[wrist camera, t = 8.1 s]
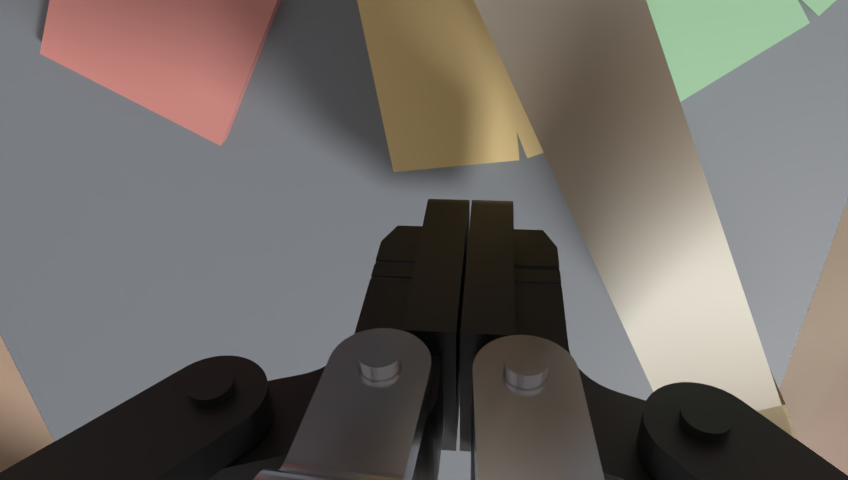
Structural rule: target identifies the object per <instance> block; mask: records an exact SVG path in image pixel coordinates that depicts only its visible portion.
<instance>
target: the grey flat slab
mask: <svg viewBox="0 0 848 480" xmlns="http://www.w3.org/2000/svg"><path fill="white" fill-rule="evenodd" d="M646 1H647V4H648V7H649V10H650V13H651V16H652V19H653V22H654V25H655V28H656V31H657V34H658V37H659V40H660V43H661V46H662V49H663V52H664V55H665V58H666V61H667V64H668V67H669V70H670V73H671V76H672V79H673V82H674V85H675V88H676V91H677V94H678V97H679V100H680V103H681V106H682V109H683V112H684V115H685V118H686V121H687V124H688V127H689V130H690V133H691V136H692V139H693V142H694V145H695V148H696V150H697V153H698V156H699V159H700V162H701V165H702V168H703V171H704V174H705V177H706V180H707V183H708V186H709V189H710V192H711V195H712V198H713V201H714V204H715V207H716V210H717V213H718V216H719V219H720V222H721V225H722V228H723V231H724V234H725V237H726V240H727V243H728V246H729V249H730V252H731V255H732V258H733V261H734V264H735V267H736V270H737V273H738V276H739V279H740V282H741V285H742V288H743V291H744V294H745V297H746V300H747V303H748V306H749V309H750V312H751V315H752V318H753V320H754V323H755V326H756V329H757V332H758V335H759V338H760V341H761V344H762V347H763V350H764V353H765V356H766V359H767V362H768V365H769V368H770V370H771V372H772V375H773V377H774V379H775V381H776V384H777V386H778V388H780V386H781V383H782V380H783V377H784V374H785V372H786V369H787V366H788V363H789V361H790V358H791V355H792V352H793V350H794V347H795V344H796V341H797V338H798V336H799V333H800V330H801V327H802V325H803V322H804V319H805V316H806V314H807V311H808V308H809V305H810V302H811V300H812V297H813V294H814V291H815V289H816V286H817V283H818V280H819V278H820V275H821V272H822V269H823V266H824V264H825V261H826V258H827V255H828V253H829V250H830V247H831V244H832V242H833V239H834V236H835V233H836V230H837V228H838V225H839V222H840V219H841V217H842V214H843V211H844V208H845V206H846V203H847V200H848V0H646ZM428 199H455V200H469V201H470V216H471V205H472V200H494V201H513V210H514V229H524V230H543V231H544V232H545V233H546V234H547V236H548V237H549V238H550V239H551V240H552V242H553V243H554V244H555V245H556V246H557V249H558V258H559V266H560V267H559V271H560V275H561V287H562V293H563V302H564V310H565V319H566V328H567V337H568V346H569V351H570V354H571V356H572V357H573V358H574V360H575V362H576V363H577V366H578V368H579V369H580V370H581V371H582V372H583V373H584V374H585V375H587V376H588V377H589V378H590V379H592V380H593V381H595V382H596V383H598V384H600V385H602V386H604V387H606V388H608V389H611V390H613V391H616V392H619V393H622V394H626V395H629V396H632V397H636V398H639V399H642V400H647V398H648V397H649V396H650V395H651V394H652V393H653V390H652V388H651V385H650V383H649V381H648V379H647V377H646V374H645V372H644V370H643V368H642V366H641V364H640V361H639V359H638V357H637V355H636V353H635V350H634V348H633V346H632V344H631V342H630V340H629V337H628V335H627V333H626V331H625V329H624V326H623V324H622V322H621V320H620V318H619V316H618V313H617V311H616V309H615V307H614V305H613V302H612V300H611V298H610V296H609V294H608V292H607V289H606V287H605V285H604V283H603V281H602V278H601V276H600V274H599V272H598V270H597V268H596V265H595V263H594V261H593V259H592V257H591V254H590V252H589V250H588V248H587V246H586V244H585V241H584V239H583V237H582V235H581V233H580V230H579V228H578V226H577V224H576V222H575V220H574V217H573V215H572V213H571V211H570V209H569V207H568V204H567V202H566V200H565V198H564V196H563V193H562V191H561V189H560V187H559V185H558V183H557V180H556V178H555V176H554V174H553V172H552V169H551V167H550V165H549V163H548V161H547V159H546V156H545V154H544V152H543V150H542V148H541V145H540V143H539V141H538V139H537V137H536V135H535V132H534V130H533V128H532V126H531V124H530V121H529V119H528V117H527V115H526V113H525V111H524V108H523V106H522V104H521V102H520V100H519V97H518V95H517V93H516V91H515V89H514V87H513V84H512V82H511V80H510V78H509V76H508V73H507V71H506V69H505V67H504V65H503V63H502V60H501V58H500V56H499V54H498V52H497V49H496V47H495V45H494V43H493V41H492V39H491V36H490V34H489V32H488V30H487V28H486V25H485V23H484V21H483V19H482V17H481V15H480V12H479V10H478V8H477V6H476V4H475V1H474V0H0V335H1V337H2V339H3V341H4V343H5V345H6V347H7V349H8V351H9V353H10V355H11V357H12V359H13V361H14V363H15V365H16V367H17V369H18V371H19V373H20V375H21V377H22V379H23V381H24V383H25V385H26V387H27V389H28V391H29V393H30V395H31V397H32V399H33V401H34V403H35V405H36V407H37V409H38V410H39V412H40V414H41V416H42V418H43V420H44V422H45V424H46V426H47V428H48V430H49V432H50V434H51V436H52V438H53V440H54V442H55V441H57V440H58V439H60V438H62V437H64V436H65V435H67V434H69V433H71V432H72V431H74V430H76V429H78V428H79V427H81V426H83V425H85V424H86V423H88V422H90V421H92V420H93V419H95V418H97V417H99V416H100V415H102V414H104V413H106V412H107V411H109V410H111V409H113V408H114V407H116V406H118V405H120V404H121V403H123V402H125V401H127V400H128V399H130V398H132V397H134V396H135V395H137V394H139V393H141V392H142V391H144V390H146V389H148V388H149V387H151V386H153V385H155V384H156V383H158V382H160V381H162V380H163V379H165V378H167V377H169V376H170V375H172V374H174V373H176V372H177V371H179V370H181V369H183V368H184V367H186V366H188V365H190V364H192V363H194V362H197V361H200V360H202V359H206V358H210V357H215V356H228V355H230V356H239V357H243V358H247V359H249V360H252V361H253V362H255V363H256V364H258V365H259V366H260V367H261V368H262V369H263V371H264V372H265V374H266V377H267V381H270V380H275V379H280V378H285V377H291V376H296V375H301V374H305V373H309V372H312V371H315V370H318V369H320V368H322V367H324V366H326V364H327V362H328V360H329V357H330V355H331V354H332V352H333V350H334V349H335V348H336V347H337V346H338V345H339V344H340V343H341V342H342V341H343V340H345V339H346V338H348V337H350V336H352V335H354V333H355V330H356V326H357V323H358V319H359V316H360V312H361V309H362V306H363V302H364V299H365V295H366V292H367V288H368V285H369V281H370V279H371V274H372V271H373V268H374V264H376V257H377V254H378V250H379V247H380V243H381V241H382V240H383V239H384V238H385V237H386V236H387V235H388V234H389V233H390V232H391V231H392V230H393V229H394V228H395V227H397V226H423V221H424V216H425V211H426V207H427V202H428ZM470 474H471V452H468V451H460V407H459V420H458V432H457V445H456V451H450V450H441V456H440V466H439V474H438V479H437V480H470V479H471V475H470Z"/></svg>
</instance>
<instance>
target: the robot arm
mask: <svg viewBox="0 0 848 480" xmlns="http://www.w3.org/2000/svg"><path fill="white" fill-rule="evenodd" d="M559 267H560V266H559V258H558V249H557V246H556V245H555V244H554V243H553V242H552V240H551V239H550V238H549V237H548V236H547V234H546V233H545V232H544V231H543V230H524V229H514V210H513V201H494V200H472V205H471V216H470V201H469V200H455V199H428V202H427V207H426V211H425V216H424V221H423V226H397V227H395V228H394V229H393V230H392V231H391V232H390V233H389V234H388V235H387V236H386V237H385V238H384V239H383V240H382V241H381V243H380V247H379V250H378V254H377V257H376V264H374V268H373V271H372V274H371V279H370V281H369V285H368V288H367V292H366V295H365V299H364V302H363V306H362V309H361V312H360V316H359V319H358V323H357V326H356V330H355V333H354V335H352V336H350V337H348V338H346V339H345V340H343V341H342V342H341V343H340V344H339V345H338V346H337V347H336V348H335V349H334V350H333V352H332V354H331V355H330V357H329V360H328V362H327V364H326V366H324V367H322V368H320V369H318V370H315V371H312V372H309V373H305V374H301V375H296V376H291V377H285V378H280V379H275V380H270V381H267V377H266V374H265V372H264V371H263V369H262V368H261V367H260V366H259V365H258V364H256V363H255V362H253V361H252V360H249V359H247V358H243V357H239V356H230V355H228V356H215V357H210V358H206V359H202V360H200V361H197V362H194V363H192V364H190V365H188V366H186V367H184V368H183V369H181V370H179V371H177V372H176V373H174V374H172V375H170V376H169V377H167V378H165V379H163V380H162V381H160V382H158V383H156V384H155V385H153V386H151V387H149V388H148V389H146V390H144V391H142V392H141V393H139V394H137V395H135V396H134V397H132V398H130V399H128V400H127V401H125V402H123V403H121V404H120V405H118V406H116V407H114V408H113V409H111V410H109V411H107V412H106V413H104V414H102V415H100V416H99V417H97V418H95V419H93V420H92V421H90V422H88V423H86V424H85V425H83V426H81V427H79V428H78V429H76V430H74V431H72V432H71V433H69V434H67V435H65V436H64V437H62V438H60V439H58V440H57V441H55V442H53V443H51V444H50V445H48V446H46V447H44V448H43V449H41V450H39V451H37V452H36V453H34V454H32V455H30V456H29V457H27V458H25V459H23V460H22V461H20V462H18V463H16V464H15V465H13V466H11V467H9V468H8V469H6V470H4V471H2V472H1V473H0V480H437V479H438V474H439V466H440V456H441V450H450V451H456V445H457V432H458V420H459V407H460V451H468V452H471V474H470V475H471V479H470V480H848V476H847V475H846V474H844V473H843V472H842V471H840V470H839V469H837V468H836V467H835V466H833V465H832V464H830V463H829V462H827V461H826V460H825V459H823V458H822V457H820V456H819V455H818V454H816V453H815V452H813V451H812V450H811V449H809V448H808V447H806V446H805V445H804V444H802V443H801V442H799V441H798V440H797V439H795V438H794V437H792V436H791V435H790V434H788V433H787V432H785V431H784V430H783V429H781V428H780V427H778V426H777V425H776V424H774V423H773V422H771V421H770V420H769V419H767V418H766V417H764V416H763V415H761V414H760V413H759V412H757V411H756V410H754V409H753V408H752V407H750V406H749V405H747V404H746V403H745V402H743V401H742V400H740V399H739V398H737V397H736V396H734V395H732V394H730V393H728V392H726V391H724V390H722V389H719V388H716V387H714V386H710V385H706V384H702V383H694V382H679V383H672V384H668V385H665V386H663V387H661V388H658V389H657V390H656V391H654V392H653V393H652V394H651V395H650V396H649V397H648V398H647V400H642V399H639V398H636V397H632V396H629V395H626V394H622V393H619V392H616V391H613V390H611V389H608V388H606V387H604V386H602V385H600V384H598V383H596V382H595V381H593V380H592V379H590V378H589V377H588V376H587V375H585V374H584V373H583V372H582V371H581V370H580V369H579V368H578V366H577V363H576V362H575V360H574V358H573V357H572V356H571V354H570V351H569V346H568V337H567V328H566V319H565V310H564V302H563V293H562V287H561V275H560V271H559Z"/></svg>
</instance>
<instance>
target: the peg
mask: <svg viewBox="0 0 848 480" xmlns="http://www.w3.org/2000/svg"><path fill="white" fill-rule="evenodd" d="M474 1H475V4H476V6H477V8H478V10H479V12H480V15H481V17H482V19H483V21H484V23H485V25H486V28H487V30H488V32H489V34H490V36H491V39H492V41H493V43H494V45H495V47H496V49H497V52H498V54H499V56H500V58H501V60H502V63H503V65H504V67H505V69H506V71H507V73H508V76H509V78H510V80H511V82H512V84H513V87H514V89H515V91H516V93H517V95H518V97H519V100H520V102H521V104H522V106H523V108H524V111H525V113H526V115H527V117H528V119H529V121H530V124H531V126H532V128H533V130H534V132H535V135H536V137H537V139H538V141H539V143H540V145H541V148H542V150H543V152H544V154H545V156H546V159H547V161H548V163H549V165H550V167H551V169H552V172H553V174H554V176H555V178H556V180H557V183H558V185H559V187H560V189H561V191H562V193H563V196H564V198H565V200H566V202H567V204H568V207H569V209H570V211H571V213H572V215H573V217H574V220H575V222H576V224H577V226H578V228H579V230H580V233H581V235H582V237H583V239H584V241H585V244H586V246H587V248H588V250H589V252H590V254H591V257H592V259H593V261H594V263H595V265H596V268H597V270H598V272H599V274H600V276H601V278H602V281H603V283H604V285H605V287H606V289H607V292H608V294H609V296H610V298H611V300H612V302H613V305H614V307H615V309H616V311H617V313H618V316H619V318H620V320H621V322H622V324H623V326H624V329H625V331H626V333H627V335H628V337H629V340H630V342H631V344H632V346H633V348H634V350H635V353H636V355H637V357H638V359H639V361H640V364H641V366H642V368H643V370H644V372H645V374H646V377H647V379H648V381H649V383H650V385H651V388H652V390H653V392H654V391H656V390H657V389H658V388H661V387H663V386H665V385H668V384H672V383H679V382H694V383H702V384H706V385H710V386H714V387H716V388H719V389H722V390H724V391H726V392H728V393H730V394H732V395H734V396H736V397H737V398H739V399H740V400H742V401H743V402H745V403H746V404H747V405H749V406H750V407H752V408H753V409H754V410H756V411H757V412H759V413H760V414H761V415H763V416H764V417H766V418H767V419H769V420H770V421H771V422H773V423H774V424H776V425H777V426H778V427H780V428H781V429H783V430H784V431H785V432H787V433H788V434H790V435H791V436H792V437H794V438H795V439H797V437H796V434H795V431H794V428H793V425H792V422H791V419H790V416H789V413H788V410H787V407H786V404H785V402H784V400H783V397H782V395H781V393H780V391H779V388H778V386H777V384H776V381H775V379H774V377H773V375H772V372H771V370H770V368H769V365H768V362H767V359H766V356H765V353H764V350H763V347H762V344H761V341H760V338H759V335H758V332H757V329H756V326H755V323H754V320H753V318H752V315H751V312H750V309H749V306H748V303H747V300H746V297H745V294H744V291H743V288H742V285H741V282H740V279H739V276H738V273H737V270H736V267H735V264H734V261H733V258H732V255H731V252H730V249H729V246H728V243H727V240H726V237H725V234H724V231H723V228H722V225H721V222H720V219H719V216H718V213H717V210H716V207H715V204H714V201H713V198H712V195H711V192H710V189H709V186H708V183H707V180H706V177H705V174H704V171H703V168H702V165H701V162H700V159H699V156H698V153H697V150H696V148H695V145H694V142H693V139H692V136H691V133H690V130H689V127H688V124H687V121H686V118H685V115H684V112H683V109H682V106H681V103H680V100H679V97H678V94H677V91H676V88H675V85H674V82H673V79H672V76H671V73H670V70H669V67H668V64H667V61H666V58H665V55H664V52H663V49H662V46H661V43H660V40H659V37H658V34H657V31H656V28H655V25H654V22H653V19H652V16H651V13H650V10H649V7H648V4H647V1H646V0H474Z"/></svg>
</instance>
